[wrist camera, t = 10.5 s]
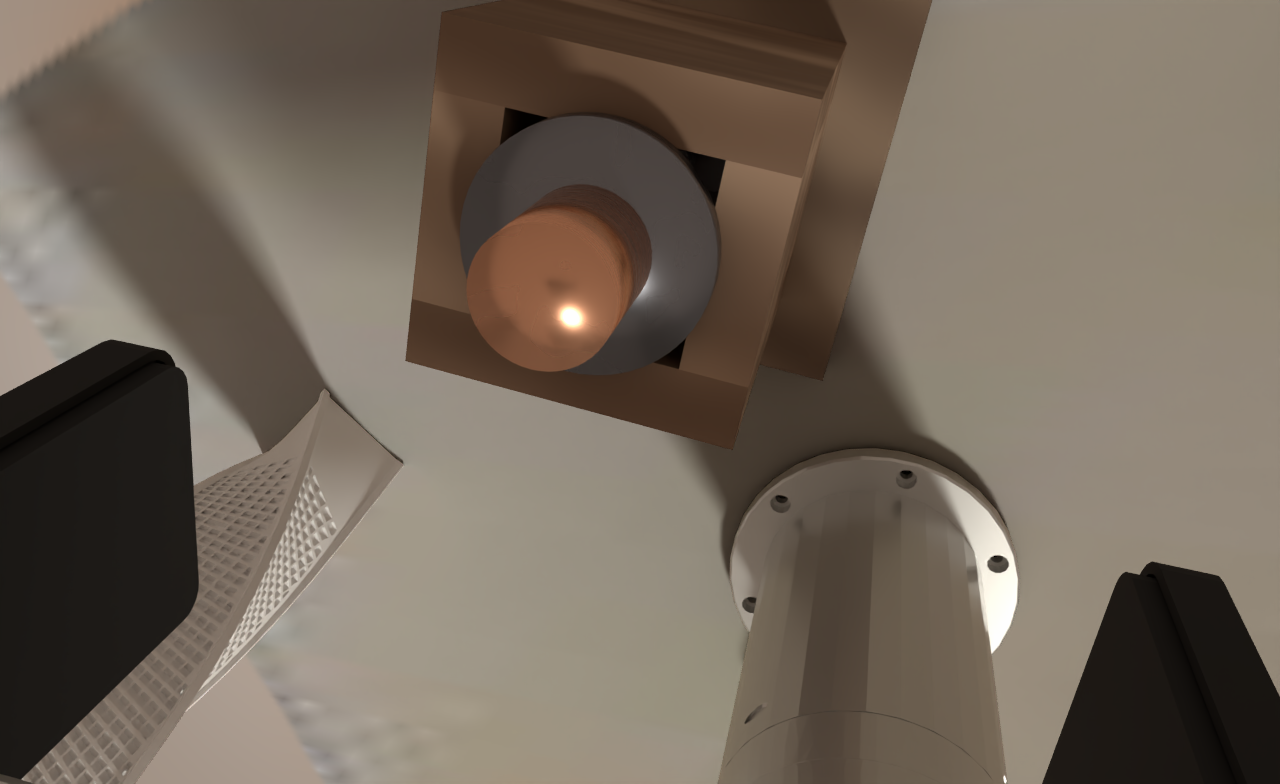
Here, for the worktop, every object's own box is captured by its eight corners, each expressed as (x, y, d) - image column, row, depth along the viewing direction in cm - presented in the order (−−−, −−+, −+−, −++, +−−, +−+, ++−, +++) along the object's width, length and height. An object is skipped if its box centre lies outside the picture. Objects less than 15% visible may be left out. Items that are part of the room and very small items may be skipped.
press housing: (824, 367, 46) (792, 560, 32) (489, 280, 48) (321, 427, 34) (939, -31, 39) (960, -6, 25) (543, -116, 41) (360, -135, 27)
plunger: (750, 259, 42) (657, 469, 26) (579, 217, 43) (385, 394, 27) (794, 78, 39) (719, 188, 23) (609, 36, 40) (412, 113, 24)
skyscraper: (323, 352, 51) (-234, 769, 26) (440, 462, 52) (11, 965, 27) (236, 451, 54) (-333, 905, 29) (347, 552, 55) (-112, 1075, 30)
